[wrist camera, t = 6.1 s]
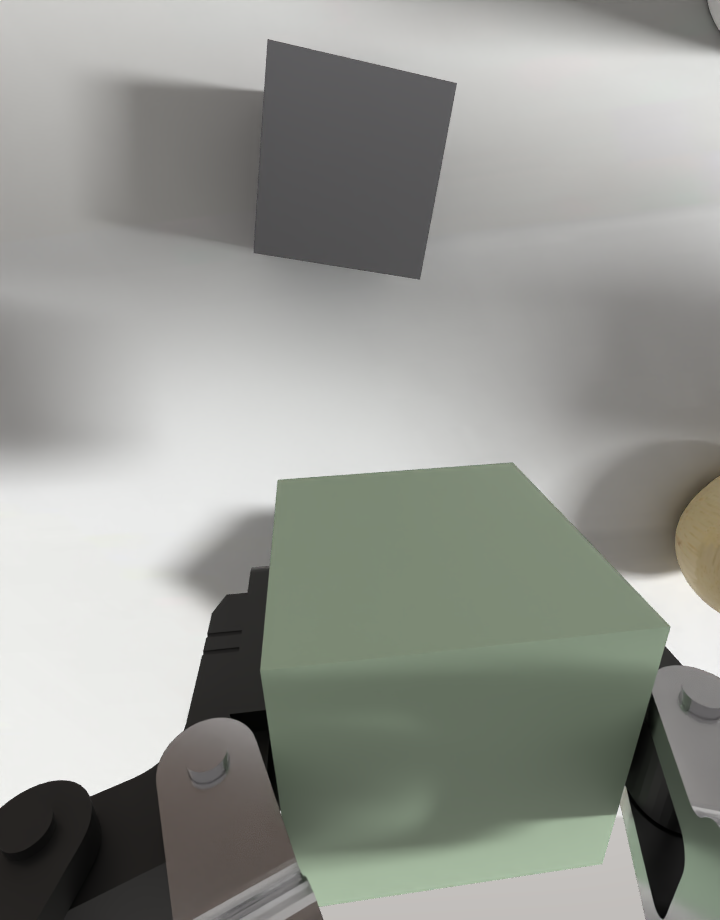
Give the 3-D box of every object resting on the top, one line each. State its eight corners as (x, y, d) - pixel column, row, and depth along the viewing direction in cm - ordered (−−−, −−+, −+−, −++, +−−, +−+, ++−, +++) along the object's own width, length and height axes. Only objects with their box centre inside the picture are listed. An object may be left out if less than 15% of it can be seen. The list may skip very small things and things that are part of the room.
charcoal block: (415, 123, 18) (456, 83, 13) (390, 270, 20) (419, 279, 15) (274, 92, 17) (267, 39, 12) (263, 249, 19) (253, 252, 14)
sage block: (512, 462, 11) (670, 626, 6) (493, 640, 13) (602, 863, 8) (277, 479, 10) (260, 670, 6) (297, 662, 12) (295, 910, 8)
